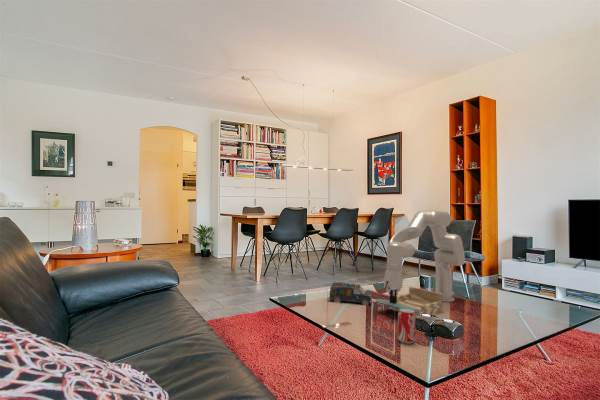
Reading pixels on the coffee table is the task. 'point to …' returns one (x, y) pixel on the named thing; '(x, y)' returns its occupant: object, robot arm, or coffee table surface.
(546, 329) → the coffee table surface
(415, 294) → the trailer bed
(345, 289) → the toy van
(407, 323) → the soda can
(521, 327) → the coffee table surface
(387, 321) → the coffee table surface
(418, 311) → the panel
